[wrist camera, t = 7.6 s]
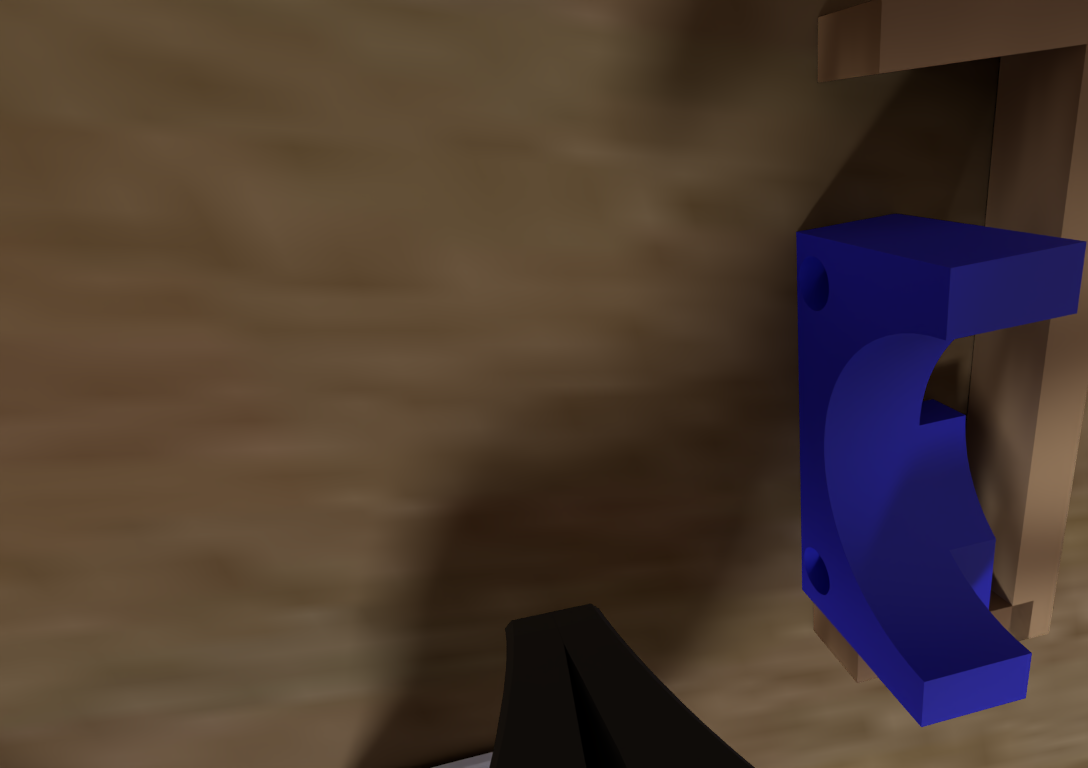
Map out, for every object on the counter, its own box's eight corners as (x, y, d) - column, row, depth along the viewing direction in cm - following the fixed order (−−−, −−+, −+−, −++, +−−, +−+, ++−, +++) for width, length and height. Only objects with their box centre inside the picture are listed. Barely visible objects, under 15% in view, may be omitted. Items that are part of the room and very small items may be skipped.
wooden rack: (988, 586, 24) (1048, 633, 22) (813, 630, 24) (857, 682, 21) (1057, -14, 18) (1154, -38, 16) (818, 17, 17) (881, -3, 15)
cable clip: (921, 556, 24) (1076, 684, 18) (800, 586, 23) (921, 726, 18) (941, 204, 19) (1152, 228, 14) (793, 231, 19) (950, 267, 13)
